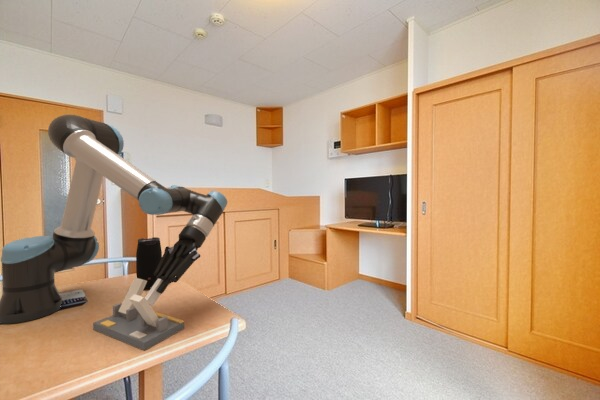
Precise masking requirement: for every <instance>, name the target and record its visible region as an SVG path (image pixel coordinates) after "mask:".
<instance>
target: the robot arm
mask: <svg viewBox="0 0 600 400" xmlns="http://www.w3.org/2000/svg"><path fill="white" fill-rule="evenodd" d="M47 134H48V135H47V136H48V138H49V140H50V142H51V143H52V144H53V145H54V147H56V148H57V149H58V150H59V151H60V152H63V154H65V155H67V156H68V157H70V158H73V159H74V161H75V163H74V168H73V171H72V172H73V173H72V176H71V180H70V184H69V189H68V194H67V197H66V202H65V207H64V211H63V216H62V219H61V223H60V224H61V225H60V226H58V227H56V228H54V230H53V233H52V234H53V235H52V236H51V235H39V236H32V237H25V238H21V239H19V238H18V239H16V240H14V241H10V242H8V243H6V244H5V245H4V246H3V248H2V249H1V257H0V261H1V271H2V273H1V275H2V276H1V277H2V294H1V297H0V322H1V323H0V324H2V325H5V324H6V325H8V324H11V325H12V324H17V323H18V324H20V323H25V322H29V321H33V320H38V319H41V318H44V317H47V316H49V315H51V314H54V313H56V312H58V311H59V310H60V309H61V308H60V306H61V304H62V305H63V299H62V296H61V294H60V292H59V290H58V288H57V286H56V284H55V274H57V273H59V272H62V271H65V270H68V269H72V268H77V267H80V266H83V265H85V264H87V263H90V262H91V261H92V260H94V259H95V257H96V256H97V255H98V252H99V249H100V242H98V237H96V236H95V235H96V233H95V231H94V230H93V229H92V225H93V222H94V218H95V212H96V207H97V205H98V201H99V196H100V192H101V188H102V184H103V180H104V178H105V179H107V180H108V181H110V182H111V183H113V184H114V185H115V186H117V187H118V188H120V189H121V190H122V191H123V192H126V193H127V194H128V195H130V196H131V197H133V198H134V199H136V200H137V201H138V206H139V207H140V209H141V211H142V212H144V213H145V214H147V215H149V216H150V215H151V216H152V215H153V216H154V215H155V216H156V215H157V216H160V215H165V214H171V213H178V212H184V213H188V214H191V215H192V216H191V218H190V219H189V220H188V221H187V223H186V225H185V226H184V227H183V229H181V231H180V232H179V234H178V240H177V241H176V242H175V243H174V244H173V245H172V246H166V247H165V248H164V251H163V252H164V253H162V254H163V255H162V258H161V260H160V262H159V264H158V266H157V268H156V270H155V272H154V275H155V276H156V277H157V279H156V281H155V282H154V283H153V285H152V286H151V288H149V290H148V292H147V294H146V295H145V296H144V297H145V299H146V300H147V302H148V303H149V305H150V306H151V307H154V305H155V304H156V303H157V301H158V300H159V298H160V297H161V296H162V294H163V293H164V292H165V291H166V289H167V287H168V286H169V285H170V284H172V283H177V282H178V281H180V279H181V278H182V276H183V275H184V274H186V272H187V271H188V269H190V267H191V266H192V265H193V264H194V263H195V261H197V260H198V259H200V257H201V254H200V253H199V252H198V249H200V248H202V246H203V244H204V243H205V241H206V239H207V237H208V236H209V235H210V233H211V231H212V230H213V228H214V227H215V225H216V223H217V222H218V220H219V219H220V217H221V215H222V214H223V213H224V211H225V209H226V207H227V206H228V199H227V197H226V196H225V195H224V194H223V193H221V192H220V191H217V190H211V191H209V192H208V193H207V194H202V193H199V192H196V191H194V190H191V189H188V188H186V187H185V186H180V185H176V184H174V185H173V184H172V185H171V186H169V187H168V188H167V187H165V186H164V185H162V184H160V183H159V182H158V181H157V180H155V179H153V177H150V176H149V175H148V174H146V173H145V172H144V171H142V170H141V169H139V168H137V167H136V166H135V165H134V164H132V162H131V163H130V162H129V161H127V160H126V159H125V158H124V157H122V156H121V155H120V154H121V153H122V152H123V150H124V147H125V146H124V145H125V143H124V141H125V140H124V137H123V135H122V134H121V133H120V131H119V130H118V128H116V127H114V126H112V125H109V124H107V123H105V122H102V121H97V120H94V119H90V118H87V117H83V116H81V115H77V114H64V115H60V116H57V117H55V118H54V119H53V120H52V121H51V122H50V123H49V126H48V129H47Z"/></svg>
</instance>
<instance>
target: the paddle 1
mask: <svg viewBox="0 0 600 400" xmlns="http://www.w3.org/2000/svg"><path fill="white" fill-rule="evenodd" d="M146 283H147V281H146V280H143V279H139V278H137V277H134V279H133V281H132V282H131V284H130V287H129V289H128V290H127V293H126V294H125V297H124V298H123V301H122V302H121V303H122V305H121V307H120V309H119V311H118V313H119V314H122V315H125V316H126V310H128V309H130V308H133V307H134V305H133V304H132V302H131V301H130V300H129V299H130V298H131V297H132V296H133V295H134V294H136V295H139V296H142V294H143V292H144V291H145V289H144V287H145V285H146Z"/></svg>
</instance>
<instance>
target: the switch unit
mask: <svg viewBox="0 0 600 400" xmlns="http://www.w3.org/2000/svg"><path fill="white" fill-rule="evenodd" d="M122 303H123V302H119V303H117V304H114V305H112V315H109V316H107V317H105V318H101V319H99V320H96V321H94V322H93V324H92V325H93V326H92V328H93V330H94V331H95V332H99V333H100V334H103V335H105V336H108V337H110V338H112V339H114V340H117V341H120V342H123V343H125V344H127V345H130V346H133V347H134V348H137V349H140V350H143V351H146V350H149V349H150V348H151V347H154V346H155V345H157V344H159V343H161V342H162V341H165V340H166V339H168V338H169V337H171V336H173V335H176V333H178V332H180V331H183V330H184V329H185V321H184V320H182V319H179V318H177V317H174V316H169V315H167V314H164V313H163V314H162V313H160V312H157V311H154V312H155V313H156V315H157V316H158V318H159V319H158V320H157V327H154V326H151V325H148V324H147V323H146V322H145V320H144V319H143V318H142V316H141V315H140V313H139V312H138V311H137V309H136V308H135V307H133V308H130V309H128V310H126V316H125V315H122V314H119V313H118V311H119V309H120V307H121V305H122Z"/></svg>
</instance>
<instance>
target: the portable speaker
mask: <svg viewBox="0 0 600 400" xmlns="http://www.w3.org/2000/svg"><path fill="white" fill-rule="evenodd" d="M162 254H163V251H162V245H161V239H160V237H157V236H156V237H151V238H142V237H141V238H138V239H137V246H136V253H135V256H136V257H135V261H136V262H135V265H136V266H135V271H136V273H135V275H136V278H139V279H143V280H146V281H147V283H146V285H145V287H144V290H145V289H150V288H151V286H152V285H153V283H154V282H155V281H156V279H157V277H156V276H155V275H154V272H155V270H156V268H157V266H158V264H159V262H160V260H161V258H162V256H163V255H162Z"/></svg>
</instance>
